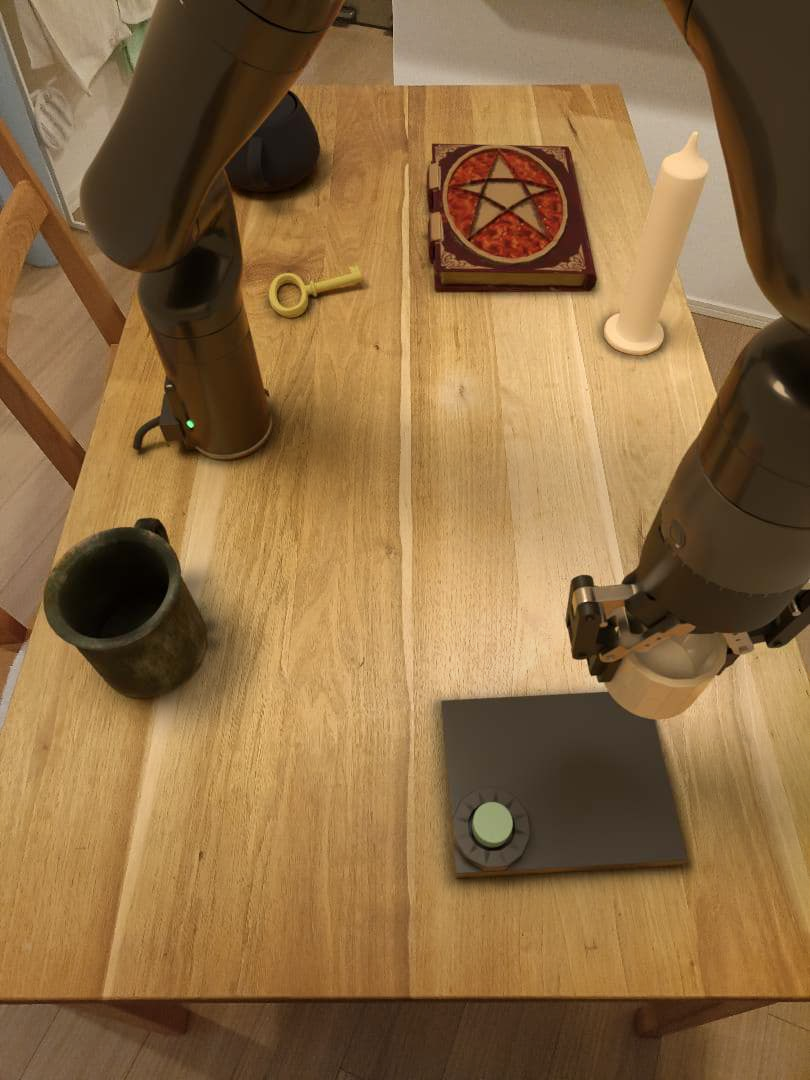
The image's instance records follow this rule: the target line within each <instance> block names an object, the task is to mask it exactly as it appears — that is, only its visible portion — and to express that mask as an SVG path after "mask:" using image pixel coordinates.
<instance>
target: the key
mask: <svg viewBox="0 0 810 1080" xmlns="http://www.w3.org/2000/svg"><path fill="white" fill-rule="evenodd" d="M348 268H349V269H348V270H349V272H350V273H348V274H344V275H340V276H336V277H333V278H329V279H325V280H321V281H317V282H315V281H314V280H310V281H309V284H305V283H304V281H303V279H302V278H301V277H300V276H299V275H298V274H295V273H293V272H285V273H281V274H279V275H277V276H276V277H275V278H273V280H272V282H271V283H270V286H269V289H268V300H269V304H270V305H271V307H272V309H273V310H274V311H275V312H276V313H277V314H279V315H280V316H281V317H282V318H283V317H284V318H289V319H292V318H296V317H297V318H298V317H299V316H301V315H302V314H304V313H305V311H306V310H307V308H308V305H309V296H310V295H312V296H313V297H315V298H316V297H317V296H318V293H322V292H325V291H329V290H332V289H333V290H334V289H336V288H341V287H344V286H348V285H352V284H355V283H359V282H363V281H364V278H363V274H362V271H361V270H360V269H359V265H358V264H356V265H355V266H352V265H351V266H348ZM285 284H293V285H295V286H296V287H298V288H299V290H300V294H301V298H300V300H299V302H298V303H297V304H296V305H294V306H291V307H285V306H283V305H282V304H281V303H280V302H279V300H278V291H279V288H280V287H281V286H283V285H285Z"/></svg>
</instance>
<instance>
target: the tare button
mask: <svg viewBox="0 0 810 1080" xmlns="http://www.w3.org/2000/svg"><path fill="white" fill-rule="evenodd" d="M512 828H513V820H512V816H511V814H510V812H509V811H508V809H507V808H506V807H504V806H503V805H501V804H499V803H496V802H488V803H485V804H483V805H481V806H480V807H479V808H478V809H477V810H476V812H475V814H474V817H473V821H472V831H473V834H474V836H475V838H476V840H477V841H478V842H479V843H481V844H482V845H484V846H486V847H491V848H494V847H499V846H501V845H502V844H504V843H505V842H506V841H507V839H508V838H509V836H510V833H511V831H512Z"/></svg>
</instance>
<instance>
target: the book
mask: <svg viewBox="0 0 810 1080" xmlns="http://www.w3.org/2000/svg"><path fill="white" fill-rule="evenodd" d="M571 151H572V150H571V148H570V147H569V146H564V145H563V146H562V145H525V144H523V145H520V144H519V145H518V144H477V143H475V144H473V143H431V160H430V165H428V166H427V170H426V171H427V172H426V201H427V209H428V211H430V212H431V214H429V218H428V221H427V248H428V249H427V250H428V256H429V257H428V258H429V262H430V263H431V264H433V283H434V285H433V287H434V291H513V292H514V291H518V292H519V291H523V292H524V291H525V292H526V291H527V292H528V291H529V292H532V291H533V292H534V291H535V292H537V291H538V292H590V291H592V290H593V289H594V288H595V287H596V285H597V281H598V276H597V272H596V267H595V261H594V257H593V252H592V248H591V247H592V246H591V243H590V238H589V234H588V233H589V232H588V228H587V224H586V219H585V214H584V208H583V204H582V199H581V194H580V190H579V185H578V180H577V174H576V170H575V165H574V164H575V163H574V160H573V155H572V152H571Z"/></svg>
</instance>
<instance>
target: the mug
mask: <svg viewBox="0 0 810 1080" xmlns="http://www.w3.org/2000/svg"><path fill="white" fill-rule="evenodd" d="M177 554H178V553H177V552H176V551H175V549H174V548H173V546H172V545H171V543H170V538H169V535H168V531H167V529H166V527H165V526H164V523H162V521H161V520H160V519H159V518H155V517H142V518H138V519H137V520H136V521H135V523H134V525H133V526H118V527H111V528H108V529H105V530H104V529H103V530H100V531H98V532H96V533H92V534H90V535H88V536H87V537H85V538H82V539H81V540H80V541H78V542H77V543H76V544H74V545H73V546H71V547H70V548H69V549H68V550H67V551H66V552H64V554H63V555H62V556H61V557H60V558H59V560H58V561H57V562H56V563H55V565H54V567H53V568H52V570H51V571H50V573H49V576H48V577H47V580H46V583H45V586H44V589H43V599H42V601H43V611H44V615H45V618H46V621H47V623H48V625H49V627H50V629H51V630H52V631H53V632H54V634H55V635H56V636H57V637H59V638H60V639H61V640H63V641H64V642H66V643H68V644H70V645H72V646H74V647H75V648H76V650H77V651H78V652H79V653H80V654H81V655H82V656H83V658H85V660H86V661H87V662H88V663H89V664H90V666H91V667H92V668H93V669H94V671H96V673H97V674H98V675H99V676H100V677H101V678H102V679H103V680H104V682H105V683H106V684H107V685H108V686H109V687H110V688H111V689H113V690H114V691H116V692H118V693H120V694H121V695H124V696H128V697H133V698H151V697H157V696H160V695H163V694H165V693H167V692H170V691H172V690H174V689H175V688H177V687H178V686H180V685H182V684H183V683H184V682H185V681H186V680H187V679H189V678H190V676H191V675H192V674H193V673H194V672H195V671H196V669H197V668H198V666H199V664H200V662H201V661H202V658H203V657H204V654H205V651H206V647H207V640H208V635H207V634H208V632H207V627H206V623H205V620H204V618H203V616H202V614H201V612H200V609H199V608H198V606H197V604H196V602H195V600H194V598H193V596H192V594H191V592H190V590H189V589H188V586H187V584H186V582H185V580H184V578H183V575H182V569H181V563H180V560H179V558H178V555H177Z"/></svg>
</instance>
